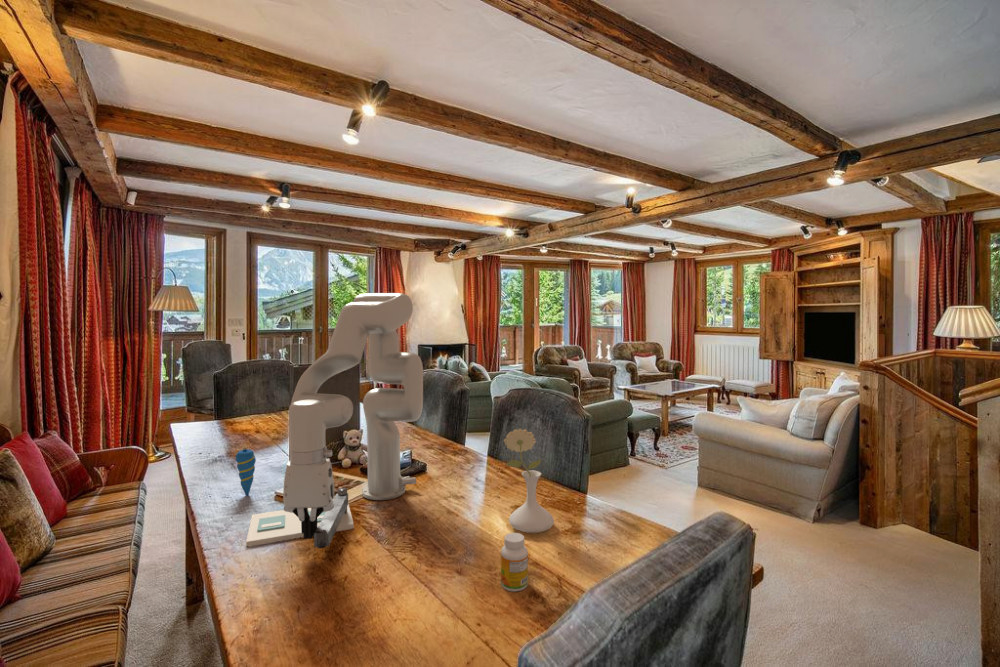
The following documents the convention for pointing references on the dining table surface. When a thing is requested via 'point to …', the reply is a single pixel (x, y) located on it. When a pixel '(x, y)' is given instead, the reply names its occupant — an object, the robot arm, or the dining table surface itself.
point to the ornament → (246, 468)
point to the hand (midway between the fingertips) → (309, 535)
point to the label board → (285, 526)
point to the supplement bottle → (514, 563)
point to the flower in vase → (530, 512)
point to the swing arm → (331, 520)
